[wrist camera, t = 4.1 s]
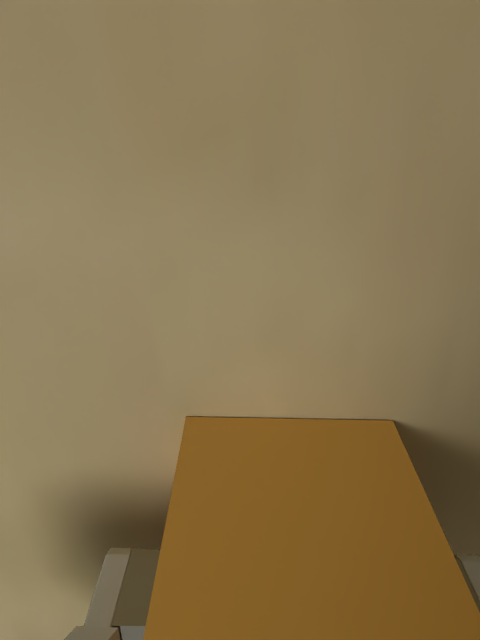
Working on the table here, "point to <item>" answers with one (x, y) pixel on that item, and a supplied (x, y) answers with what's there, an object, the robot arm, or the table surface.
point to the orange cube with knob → (303, 538)
